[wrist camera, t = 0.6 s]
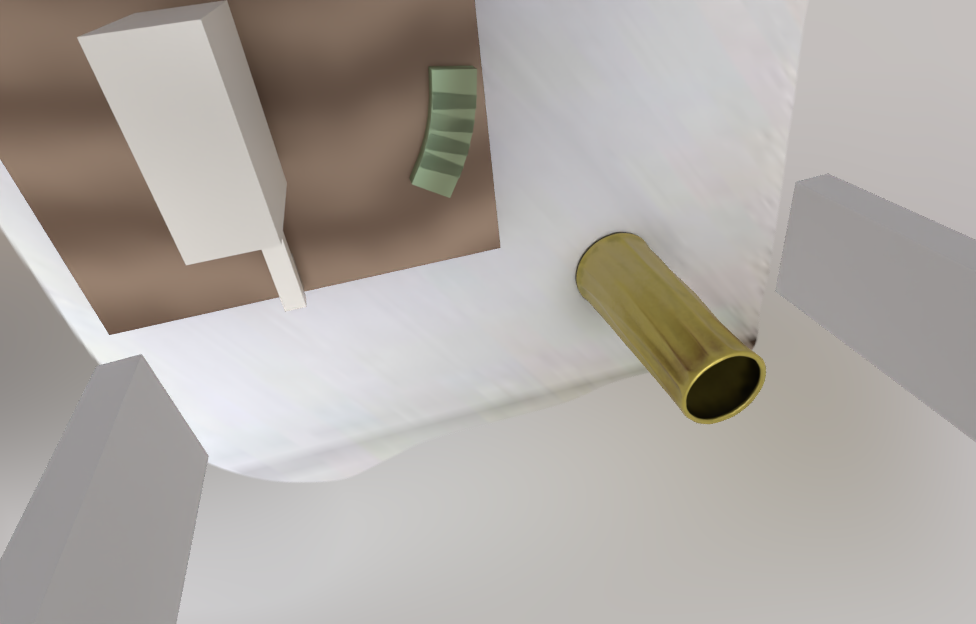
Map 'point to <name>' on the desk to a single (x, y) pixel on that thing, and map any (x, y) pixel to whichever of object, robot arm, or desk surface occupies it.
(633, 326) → the vase
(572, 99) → the desk surface
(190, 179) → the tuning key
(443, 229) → the brown flat square board
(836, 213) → the robot arm
